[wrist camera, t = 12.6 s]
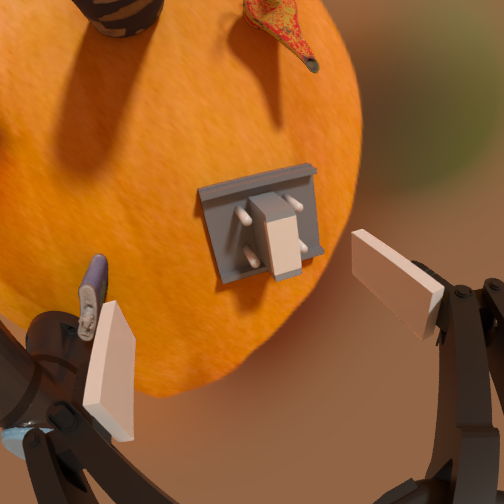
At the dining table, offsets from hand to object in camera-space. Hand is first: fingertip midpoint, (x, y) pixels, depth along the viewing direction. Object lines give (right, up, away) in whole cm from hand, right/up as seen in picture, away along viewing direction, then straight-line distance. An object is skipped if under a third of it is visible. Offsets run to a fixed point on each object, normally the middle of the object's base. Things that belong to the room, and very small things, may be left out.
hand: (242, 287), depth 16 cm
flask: (-22, -2, +25) cm, 34 cm away
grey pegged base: (+2, +6, +28) cm, 29 cm away
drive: (+2, +6, +27) cm, 28 cm away
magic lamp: (+2, +32, +16) cm, 36 cm away
